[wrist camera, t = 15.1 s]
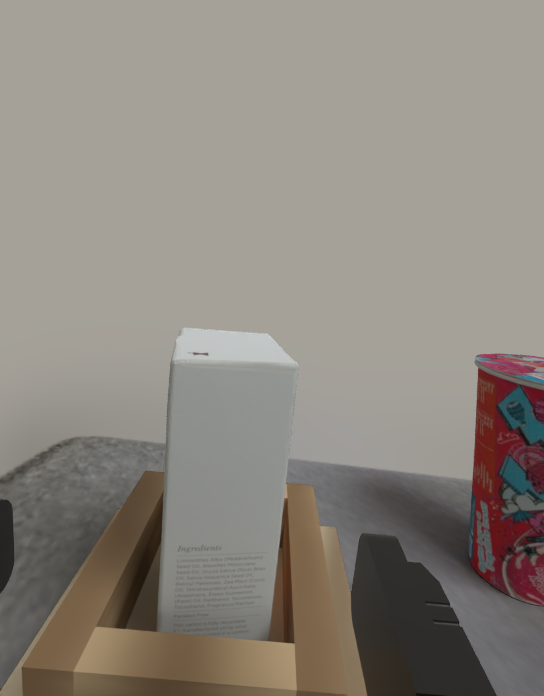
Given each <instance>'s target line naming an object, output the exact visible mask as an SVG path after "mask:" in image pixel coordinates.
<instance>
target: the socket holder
mask: <svg viewBox="0 0 544 696" xmlns="http://www.w3.org/2000/svg"><path fill="white" fill-rule="evenodd" d="M164 473H165V472H153V471H145V472H144V474H143V475H142V477H141V479H140V480H139V482H138V483H137V485H136V486H135V488H134V490H133V491H132V493H131V494H130V496H129V498H128V499H127V501H126V502H125V504H124V505H123V507H122V508H118V510H117V511H116V513H115V514H114V516H113V517H112V519H111V520H110V522H109V524H108V525H107V527H106V528H105V530H104V531H103V533H102V534H101V536H100V538H99V539H98V541H97V542H96V544H95V545H94V547H93V548H92V550H91V552H90V553H89V555H88V556H87V558H86V559H85V561H84V562H83V564H82V565H81V567H80V569H79V570H78V572H77V573H76V575H75V576H74V578H73V579H72V581H71V583H70V584H69V586H68V587H67V589H66V590H65V592H64V593H63V595H62V597H61V598H60V600H59V601H58V603H57V604H56V606H55V607H54V609H53V610H52V612H51V614H50V615H49V617H48V618H47V620H46V621H45V623H44V624H43V626H42V628H41V629H40V631H39V632H38V634H37V635H36V637H35V638H34V640H33V642H32V643H31V645H30V646H29V648H28V649H27V651H26V652H25V654H24V656H23V657H22V659H21V660H20V662H19V663H18V665H17V666H16V668H15V669H14V671H13V673H12V674H11V676H10V677H9V679H8V680H7V682H6V683H5V685H4V687H3V688H2V690H1V691H0V696H367V692H366V687H365V682H364V677H363V672H362V668H361V663H360V658H359V653H358V648H357V643H356V638H355V634H354V629H353V624H352V616H351V593H350V588H349V584H348V579H347V575H346V571H345V566H344V562H343V557H342V553H341V548H340V544H339V540H338V535H337V531H336V527H328V526H320V523H319V517H318V511H317V505H316V499H315V493H314V487H313V486H311V485H300V484H289V483H286V488H285V497H284V506H283V515H282V525H281V534H280V544H279V551H278V561H277V568H276V577H275V585H274V595H273V605H272V615H271V623H270V633H269V641H258V640H246V639H234V638H223V637H211V636H199V635H188V634H176V633H164V632H156V631H157V611H158V591H159V573H160V555H161V536H162V516H163V494H164Z"/></svg>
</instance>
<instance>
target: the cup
mask: <svg viewBox="0 0 544 696" xmlns="http://www.w3.org/2000/svg"><path fill="white" fill-rule="evenodd" d="M475 364H476V366H477V367H478V385H477V407H476V430H475V450H474V451H475V452H474V467H473V483H472V500H471V516H470V533H469V550H468V556H469V560H470V562H471V564H472V566H473V567H474V569H475V570H476V571H477V572H478V573H479V575H480V576H482V577H483V578H484V579H485V580H486V581H487V582H489V583H490V584H491V585H493V586H494V587H496V588H497V589H499V590H500V591H502V592H504V593H505V594H507V595H509V596H511V597H513V598H516V599H518V600H521V601H524V602H527V603H530V604H534V605H540V606H544V358H542V357H535V356H527V355H510V354H483V355H477V356H476V357H475Z"/></svg>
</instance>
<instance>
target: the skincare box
mask: <svg viewBox="0 0 544 696" xmlns="http://www.w3.org/2000/svg"><path fill="white" fill-rule="evenodd" d="M298 368H299V367H298V364H297V363H296V362H295V361H294V360H292V358H291V357H289V355H288V354H286V352H285V351H284V350H283V349H282V348H281V347H280V346H279V345H278V344H277V343H276V342H275V341H274V340H273V339H272V338H271V337H270V335H269V334H262V333H249V332H235V331H220V330H207V329H194V328H182V329H181V330H180V332H179V335H178V337H177V338H176V340H175V347H174V350H173V354H172V358H171V365H170V377H169V390H168V405H167V429H166V430H167V431H166V454H165V473H164V494H163V516H162V536H161V555H160V573H159V591H158V611H157V631H156V632H164V633H176V634H188V635H199V636H211V637H223V638H234V639H246V640H258V641H269V633H270V623H271V615H272V605H273V595H274V585H275V577H276V568H277V561H278V551H279V544H280V534H281V525H282V515H283V506H284V497H285V488H286V479H287V470H288V460H289V451H290V441H291V433H292V425H293V415H294V406H295V396H296V387H297V377H298V370H299V369H298Z"/></svg>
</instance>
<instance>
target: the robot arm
mask: <svg viewBox="0 0 544 696" xmlns="http://www.w3.org/2000/svg"><path fill="white" fill-rule="evenodd" d="M13 566H14V537H13V511H12V505H11V503H10V502H9V501H8V500H2V499H0V593H1V592H2V591H3V589H4V588H5V586H6V584H7V583H8V581H9V578H10V576H11V573H12V570H13ZM351 616H352V624H353V629H354V634H355V638H356V643H357V648H358V653H359V658H360V663H361V668H362V672H363V677H364V682H365V687H366V692H367V696H496V694H495V692H494V690H493V688H492V686H491V684H490V682H489V680H488V678H487V676H486V674H485V672H484V670H483V668H482V666H481V664H480V662H479V660H478V658H477V656H476V654H475V652H474V650H473V648H472V646H471V644H470V642H469V640H468V638H467V636H466V634H465V632H464V630H463V628H462V627H460V625H459V620H458V618H457V616H456V614H455V612H454V610H453V609H452V608H450V603H449V601H448V599H447V597H446V595H445V593H444V591H443V589H442V587H441V585H440V583H439V581H438V580H437V579H436V578H435V577H434V576H433V575H432V574H431V573H430V572H429V571H428V570H427V569H426V568H425V567H424V566H423V565H422V564H421V563H414V562H407V560H406V557H405V555H404V553H403V550H402V548H401V546H400V543H399V541H398V539H397V538H396V537H395V536H387V535H376V534H365V533H362V534H361V536H360V539H359V545H358V552H357V558H356V565H355V571H354V578H353V585H352V592H351Z"/></svg>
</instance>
